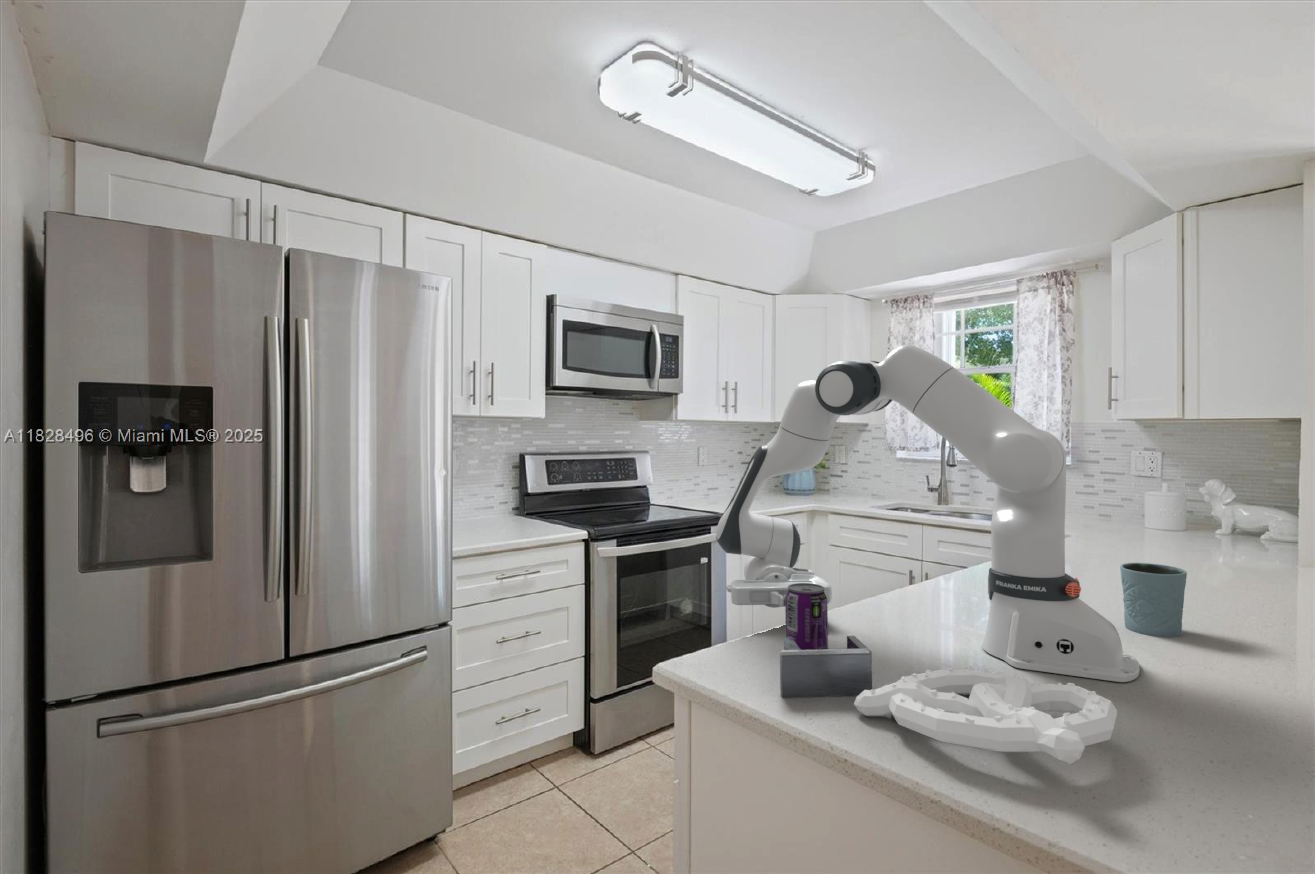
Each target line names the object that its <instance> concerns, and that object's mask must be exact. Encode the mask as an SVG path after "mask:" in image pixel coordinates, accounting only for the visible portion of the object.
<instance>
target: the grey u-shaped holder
mask: <svg viewBox="0 0 1315 874" xmlns="http://www.w3.org/2000/svg"><path fill="white" fill-rule="evenodd" d="M872 655H873V653H872V651H871V650H870V649H869V647H867V646H866V644H864V643H863V642H862V641H861V640H860V639H858V638H857V636H856V635H846V648H832V649H831V648H830V649H829V648H828V649H819V650H801V649H800V648H799V647H798V645H797V644H796V643H795V641H794V640H793V639H792V637H786V636H783V650H780V653H779V670H780V671H779V674H780V675H779V676H780V677H779V680H780V681H779V682H780V685H779V687H780V690H779V692H780V693H779V694H780V696H781V698H817V697H818V698H821V697H824V698H825V697H857V696H858V695H859V694H860V693H862V692H863V691H864V690H871V689H873V674H872V673H873V668H872V667H873V664H872V662H873V661H872V659H873V658H872Z"/></svg>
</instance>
